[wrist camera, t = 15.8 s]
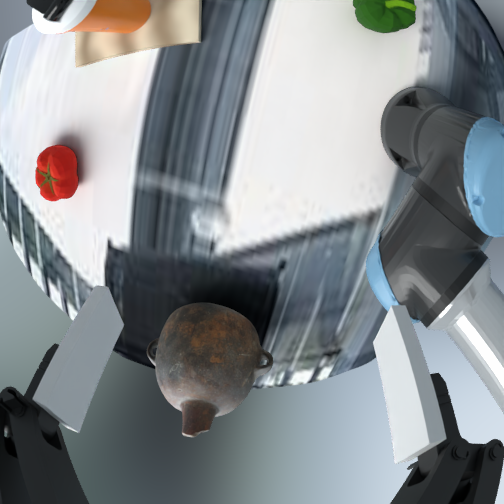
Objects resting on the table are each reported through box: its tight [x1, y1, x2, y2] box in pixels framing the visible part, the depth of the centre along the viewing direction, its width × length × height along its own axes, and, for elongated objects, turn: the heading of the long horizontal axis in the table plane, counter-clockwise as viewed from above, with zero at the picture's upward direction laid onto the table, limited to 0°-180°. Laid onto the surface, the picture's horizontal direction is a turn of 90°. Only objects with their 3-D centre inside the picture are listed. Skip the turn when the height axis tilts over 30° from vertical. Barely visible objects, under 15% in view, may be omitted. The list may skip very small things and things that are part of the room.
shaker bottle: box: [27, 0, 151, 34], centre depth 19 cm, size 9×9×20 cm
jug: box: [147, 303, 273, 437], centre depth 52 cm, size 24×21×30 cm
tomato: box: [35, 145, 78, 201], centre depth 42 cm, size 10×11×7 cm
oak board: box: [75, 0, 202, 68], centre depth 28 cm, size 22×14×2 cm, turn 89°
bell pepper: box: [353, 0, 416, 33], centre depth 23 cm, size 8×8×10 cm
